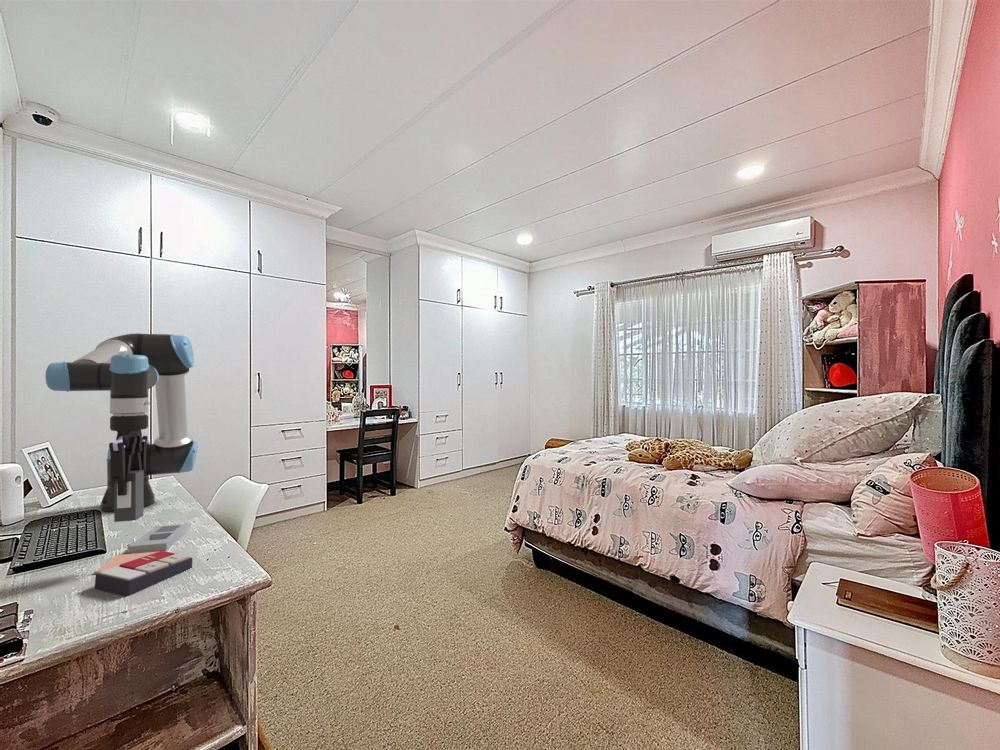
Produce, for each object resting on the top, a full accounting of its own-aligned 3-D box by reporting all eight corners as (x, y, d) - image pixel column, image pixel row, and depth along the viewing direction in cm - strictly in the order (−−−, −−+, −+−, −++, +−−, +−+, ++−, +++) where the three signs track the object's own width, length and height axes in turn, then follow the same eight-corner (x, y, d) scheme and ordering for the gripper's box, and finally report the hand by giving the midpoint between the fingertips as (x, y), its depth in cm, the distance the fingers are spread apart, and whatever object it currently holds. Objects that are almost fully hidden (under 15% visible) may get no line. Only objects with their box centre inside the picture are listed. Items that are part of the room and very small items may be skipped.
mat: (117, 557, 116) (117, 555, 116) (161, 553, 119) (161, 551, 119) (93, 574, 106) (93, 571, 106) (142, 569, 109) (142, 567, 109)
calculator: (193, 554, 110) (127, 578, 96) (192, 571, 110) (126, 597, 96) (162, 548, 114) (94, 570, 100) (162, 565, 114) (93, 589, 99)
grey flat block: (156, 532, 134) (156, 525, 134) (190, 529, 136) (190, 523, 136) (127, 553, 118) (127, 546, 118) (166, 550, 121) (166, 542, 121)
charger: (123, 516, 114) (123, 471, 114) (143, 515, 115) (143, 470, 115) (114, 521, 110) (114, 474, 110) (135, 520, 111) (135, 473, 111)
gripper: (129, 417, 105) (128, 513, 105) (162, 411, 122) (161, 495, 121) (91, 417, 103) (90, 516, 103) (130, 412, 119) (129, 497, 119)
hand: (129, 504), depth 112 cm, fingers closed on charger, 4 cm apart
